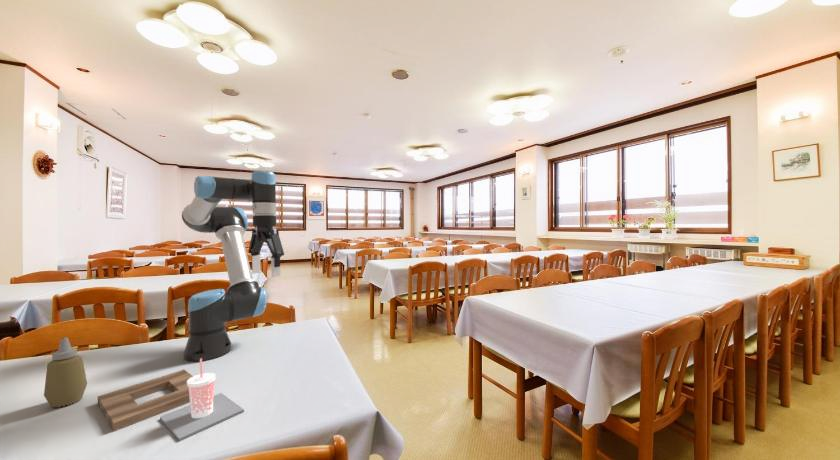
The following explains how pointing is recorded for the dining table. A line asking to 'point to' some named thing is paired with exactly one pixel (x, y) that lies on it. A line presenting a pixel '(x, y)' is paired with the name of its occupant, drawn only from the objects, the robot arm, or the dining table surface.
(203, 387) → the beverage cup
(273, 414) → the dining table surface
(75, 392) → the squeeze bottle
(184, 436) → the rubber mat
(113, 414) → the pocket holder
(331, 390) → the dining table surface
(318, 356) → the dining table surface
